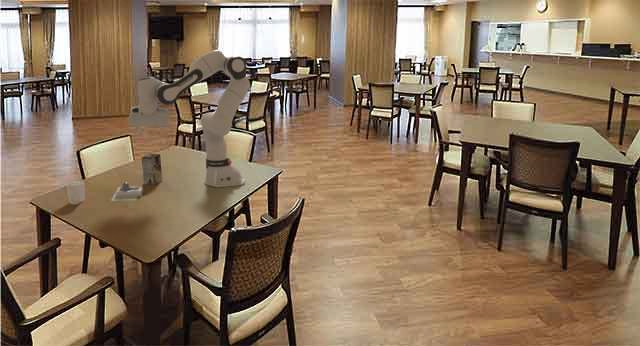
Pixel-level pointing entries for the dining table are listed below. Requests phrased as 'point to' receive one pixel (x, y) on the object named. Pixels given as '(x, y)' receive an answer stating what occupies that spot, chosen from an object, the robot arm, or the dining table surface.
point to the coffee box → (152, 169)
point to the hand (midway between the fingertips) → (150, 134)
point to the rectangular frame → (130, 192)
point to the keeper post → (125, 186)
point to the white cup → (76, 192)
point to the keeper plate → (122, 198)
